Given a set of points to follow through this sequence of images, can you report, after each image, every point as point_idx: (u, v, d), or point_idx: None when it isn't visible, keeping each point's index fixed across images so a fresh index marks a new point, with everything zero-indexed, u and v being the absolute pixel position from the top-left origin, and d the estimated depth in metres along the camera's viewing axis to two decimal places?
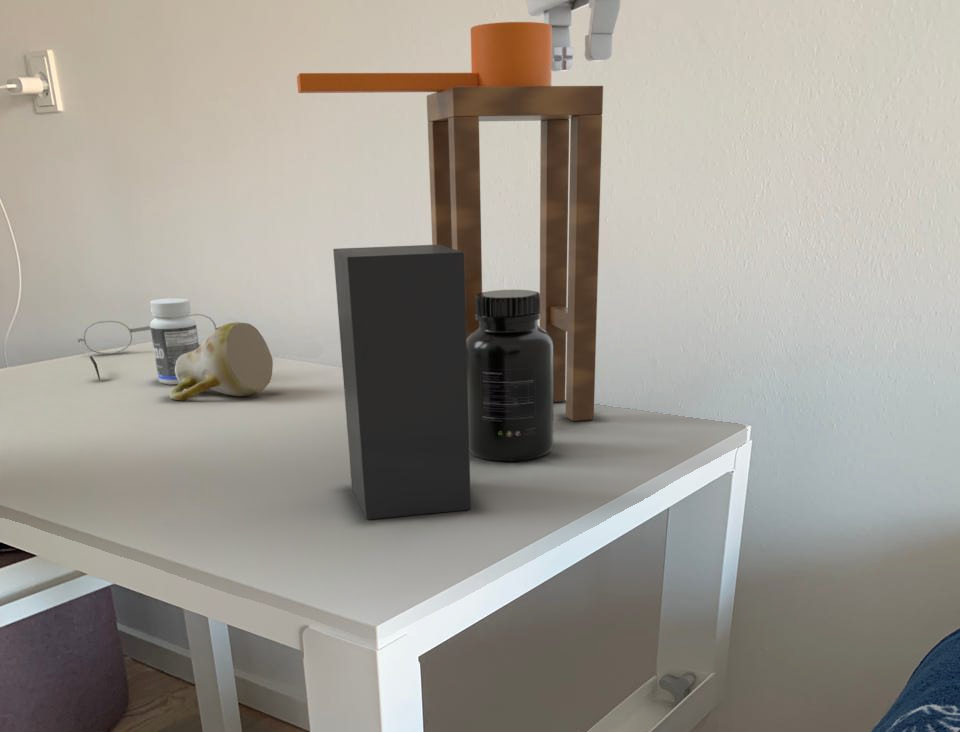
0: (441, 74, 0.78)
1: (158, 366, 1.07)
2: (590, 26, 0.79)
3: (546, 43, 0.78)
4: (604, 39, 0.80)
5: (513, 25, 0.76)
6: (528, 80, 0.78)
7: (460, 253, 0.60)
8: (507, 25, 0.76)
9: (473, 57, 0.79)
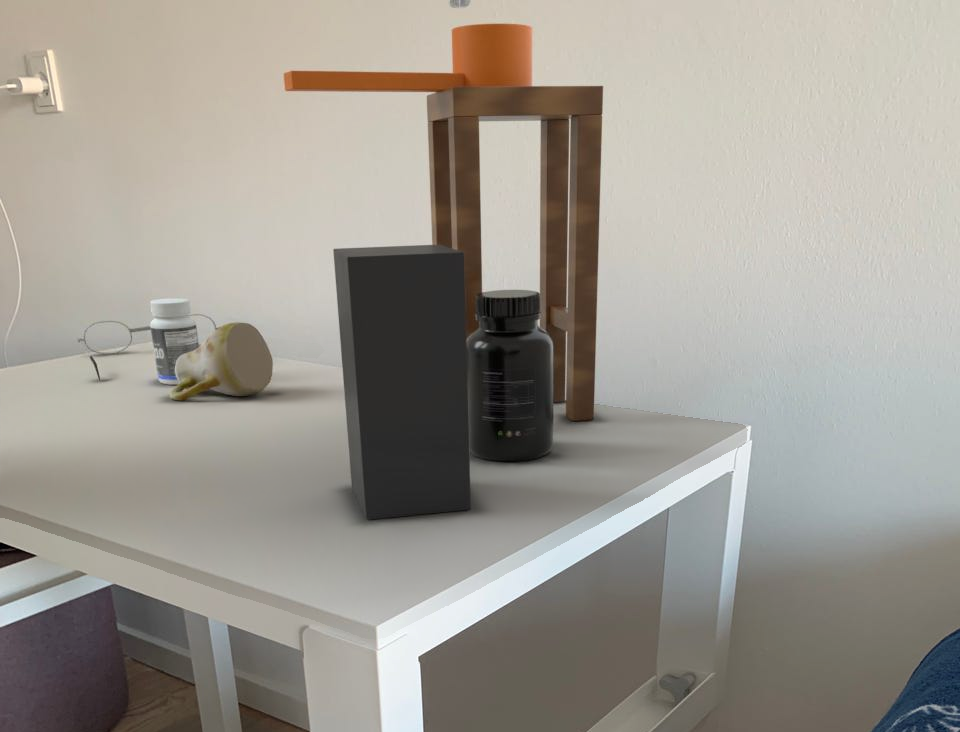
0: (429, 74, 0.78)
1: (158, 366, 1.07)
2: None
3: (530, 45, 0.79)
4: None
5: (501, 27, 0.77)
6: (515, 81, 0.79)
7: (460, 253, 0.60)
8: (495, 26, 0.77)
9: (457, 58, 0.79)
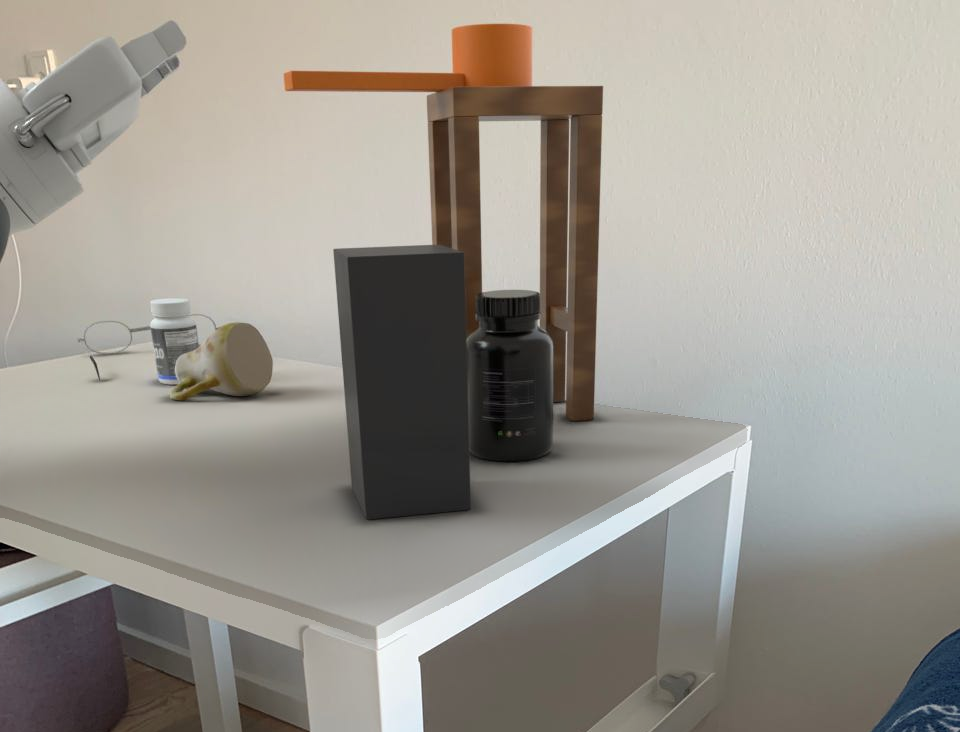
0: (429, 74, 0.78)
1: (158, 366, 1.07)
2: None
3: (530, 45, 0.79)
4: None
5: (501, 27, 0.77)
6: (515, 81, 0.79)
7: (460, 253, 0.60)
8: (495, 26, 0.77)
9: (457, 58, 0.79)
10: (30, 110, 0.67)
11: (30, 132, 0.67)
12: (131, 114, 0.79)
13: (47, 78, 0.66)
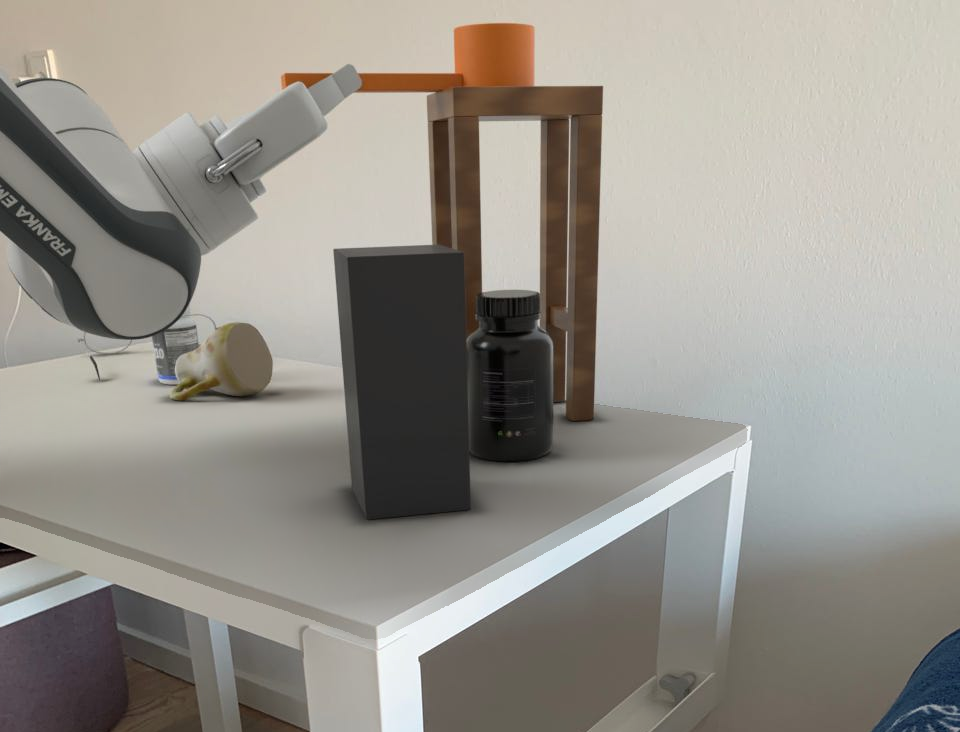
0: (426, 74, 0.78)
1: (158, 366, 1.07)
2: None
3: (530, 44, 0.78)
4: None
5: (498, 26, 0.76)
6: (513, 81, 0.78)
7: (460, 253, 0.60)
8: (492, 26, 0.76)
9: (457, 58, 0.79)
10: (222, 152, 0.70)
11: (221, 174, 0.71)
12: None
13: (241, 124, 0.69)
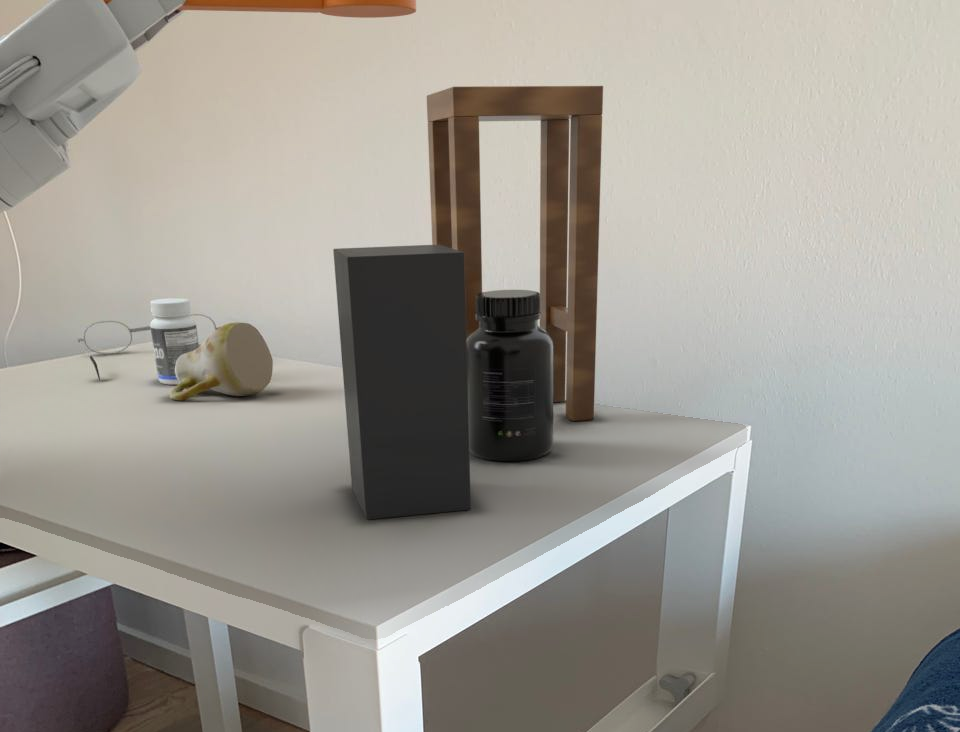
0: None
1: (158, 366, 1.07)
2: None
3: None
4: None
5: None
6: None
7: (460, 253, 0.60)
8: None
9: None
10: None
11: None
12: (128, 72, 0.66)
13: (11, 35, 0.54)
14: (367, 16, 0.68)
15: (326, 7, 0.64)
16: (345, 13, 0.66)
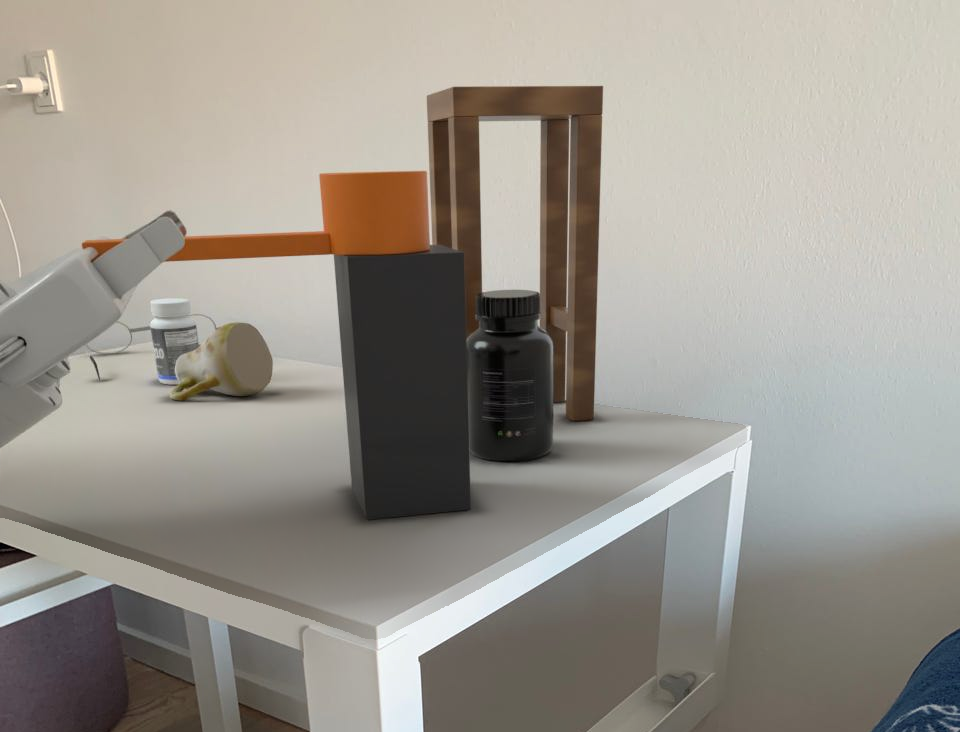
0: (278, 237, 0.59)
1: (158, 366, 1.07)
2: None
3: (417, 195, 0.59)
4: None
5: (369, 177, 0.57)
6: (393, 245, 0.59)
7: (460, 253, 0.60)
8: (361, 177, 0.57)
9: (323, 212, 0.60)
10: None
11: None
12: None
13: None
14: None
15: (334, 254, 0.60)
16: None
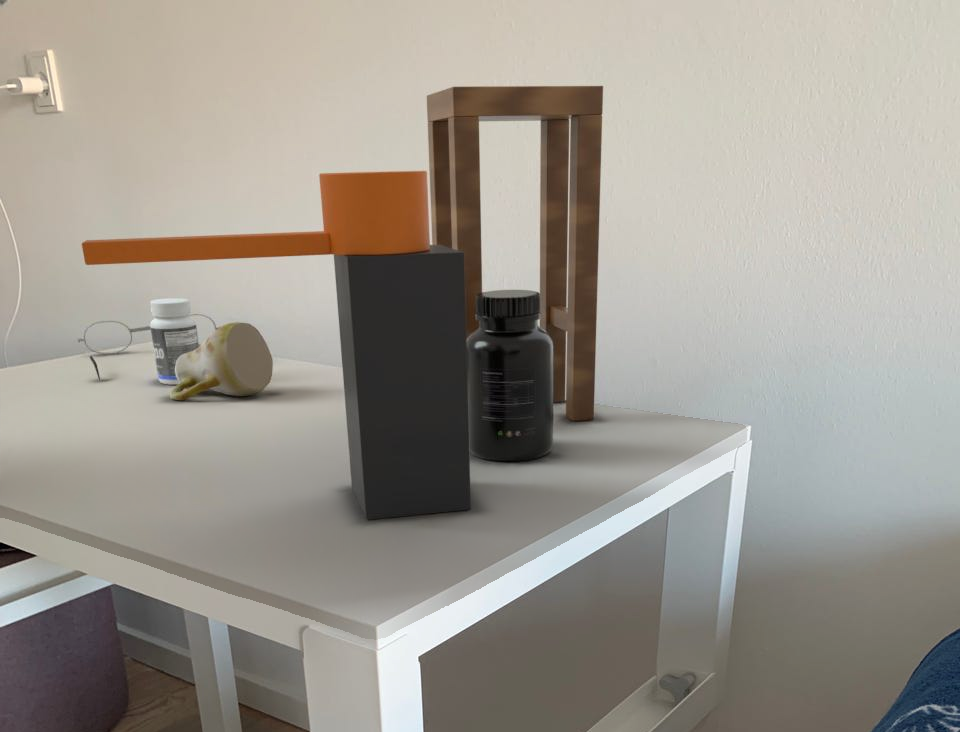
0: (278, 237, 0.59)
1: (158, 366, 1.07)
2: None
3: (417, 195, 0.59)
4: None
5: (369, 177, 0.57)
6: (393, 245, 0.59)
7: (460, 253, 0.60)
8: (361, 177, 0.57)
9: (323, 212, 0.60)
10: None
11: None
12: None
13: None
14: None
15: (334, 254, 0.60)
16: None
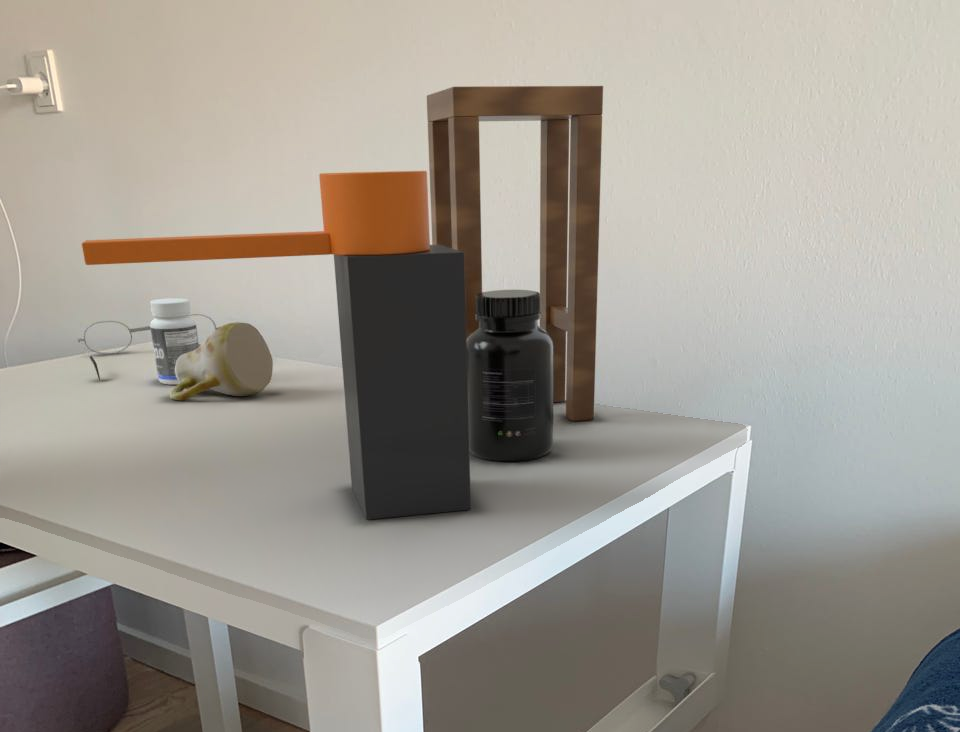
0: (278, 237, 0.59)
1: (158, 366, 1.07)
2: None
3: (417, 195, 0.59)
4: None
5: (369, 177, 0.57)
6: (393, 245, 0.59)
7: (460, 253, 0.60)
8: (361, 177, 0.57)
9: (323, 212, 0.60)
10: None
11: None
12: None
13: None
14: None
15: (334, 254, 0.60)
16: None
